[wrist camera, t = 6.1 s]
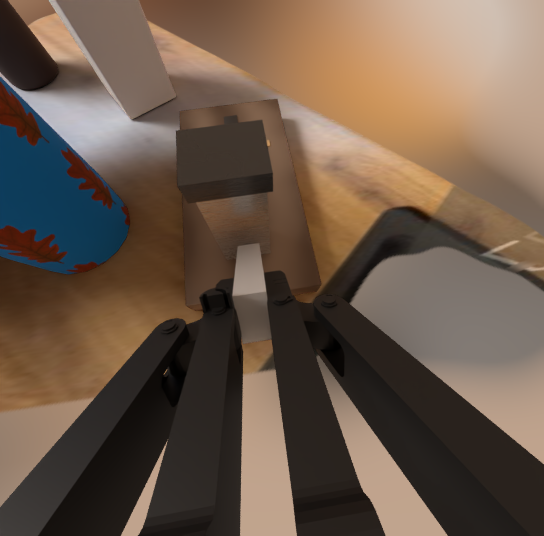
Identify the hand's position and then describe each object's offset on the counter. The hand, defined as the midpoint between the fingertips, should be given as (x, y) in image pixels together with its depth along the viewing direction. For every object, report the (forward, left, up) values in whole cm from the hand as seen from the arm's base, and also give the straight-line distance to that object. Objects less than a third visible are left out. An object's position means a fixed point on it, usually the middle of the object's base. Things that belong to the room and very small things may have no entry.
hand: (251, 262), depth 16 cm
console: (0, +11, -7) cm, 13 cm away
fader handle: (0, +4, -4) cm, 6 cm away
